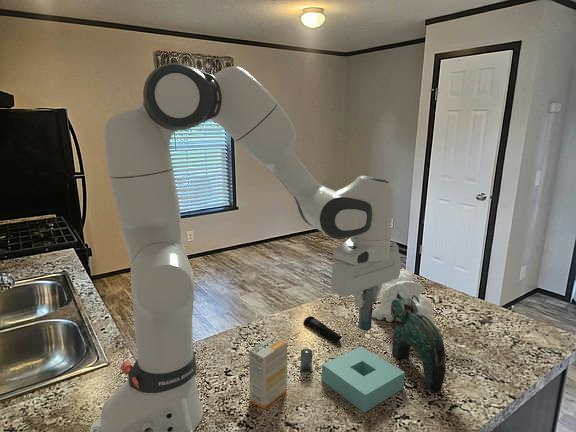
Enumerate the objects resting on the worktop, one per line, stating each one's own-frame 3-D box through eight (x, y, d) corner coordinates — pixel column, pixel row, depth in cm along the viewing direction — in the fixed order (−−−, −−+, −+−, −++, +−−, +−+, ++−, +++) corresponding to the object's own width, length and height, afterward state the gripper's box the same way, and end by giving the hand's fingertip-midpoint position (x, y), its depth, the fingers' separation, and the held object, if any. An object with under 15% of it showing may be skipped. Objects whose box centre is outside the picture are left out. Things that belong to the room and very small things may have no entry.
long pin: (365, 331, 91) (368, 283, 88) (355, 326, 93) (358, 279, 91) (373, 328, 93) (377, 280, 90) (364, 323, 95) (367, 276, 92)
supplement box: (272, 383, 96) (272, 334, 93) (287, 391, 93) (288, 342, 90) (248, 400, 89) (248, 349, 86) (263, 410, 86) (264, 357, 84)
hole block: (364, 412, 86) (365, 395, 85) (321, 380, 97) (322, 364, 96) (403, 388, 94) (404, 372, 93) (360, 361, 105) (361, 346, 104)
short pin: (305, 373, 100) (305, 356, 98) (298, 368, 102) (298, 350, 101) (314, 369, 101) (314, 352, 100) (306, 364, 104) (307, 347, 103)
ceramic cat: (385, 350, 111) (390, 284, 106) (405, 348, 112) (411, 282, 108) (427, 396, 92) (435, 318, 88) (450, 392, 94) (460, 315, 89)
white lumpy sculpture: (458, 309, 117) (402, 272, 116) (417, 359, 120) (363, 323, 120) (440, 287, 135) (392, 256, 135) (405, 331, 139) (359, 300, 139)
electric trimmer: (334, 347, 113) (334, 337, 112) (302, 324, 125) (302, 315, 124) (343, 343, 115) (344, 333, 114) (311, 321, 127) (311, 312, 127)
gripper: (387, 237, 97) (384, 289, 100) (327, 251, 85) (325, 310, 88) (409, 243, 92) (404, 297, 95) (349, 259, 80) (345, 321, 83)
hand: (366, 303), depth 92 cm, fingers closed on long pin, 3 cm apart
